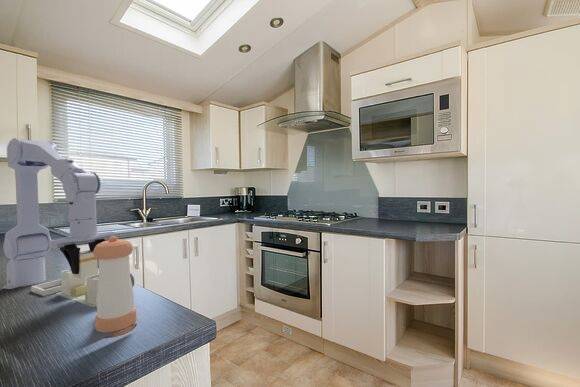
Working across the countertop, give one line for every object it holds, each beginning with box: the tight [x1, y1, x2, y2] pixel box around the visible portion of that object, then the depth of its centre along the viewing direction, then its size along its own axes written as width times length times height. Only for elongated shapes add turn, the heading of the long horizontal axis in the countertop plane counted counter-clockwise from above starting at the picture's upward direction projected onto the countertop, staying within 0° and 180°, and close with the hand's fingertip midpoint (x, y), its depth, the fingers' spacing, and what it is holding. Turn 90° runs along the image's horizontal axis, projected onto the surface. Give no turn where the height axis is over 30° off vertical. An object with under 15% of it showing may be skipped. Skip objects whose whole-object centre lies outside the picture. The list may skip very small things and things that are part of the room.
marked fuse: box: [73, 249, 99, 279], centre depth 75 cm, size 4×4×6 cm
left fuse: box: [60, 268, 87, 296], centre depth 79 cm, size 4×4×6 cm
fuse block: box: [55, 284, 97, 308], centre depth 75 cm, size 19×6×3 cm, turn 60°
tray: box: [30, 278, 62, 297], centre depth 81 cm, size 8×8×3 cm
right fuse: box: [86, 274, 99, 305], centre depth 72 cm, size 4×4×6 cm
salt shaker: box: [93, 236, 138, 339], centre depth 60 cm, size 7×7×19 cm
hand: (85, 271), depth 75 cm, fingers closed on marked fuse, 4 cm apart
